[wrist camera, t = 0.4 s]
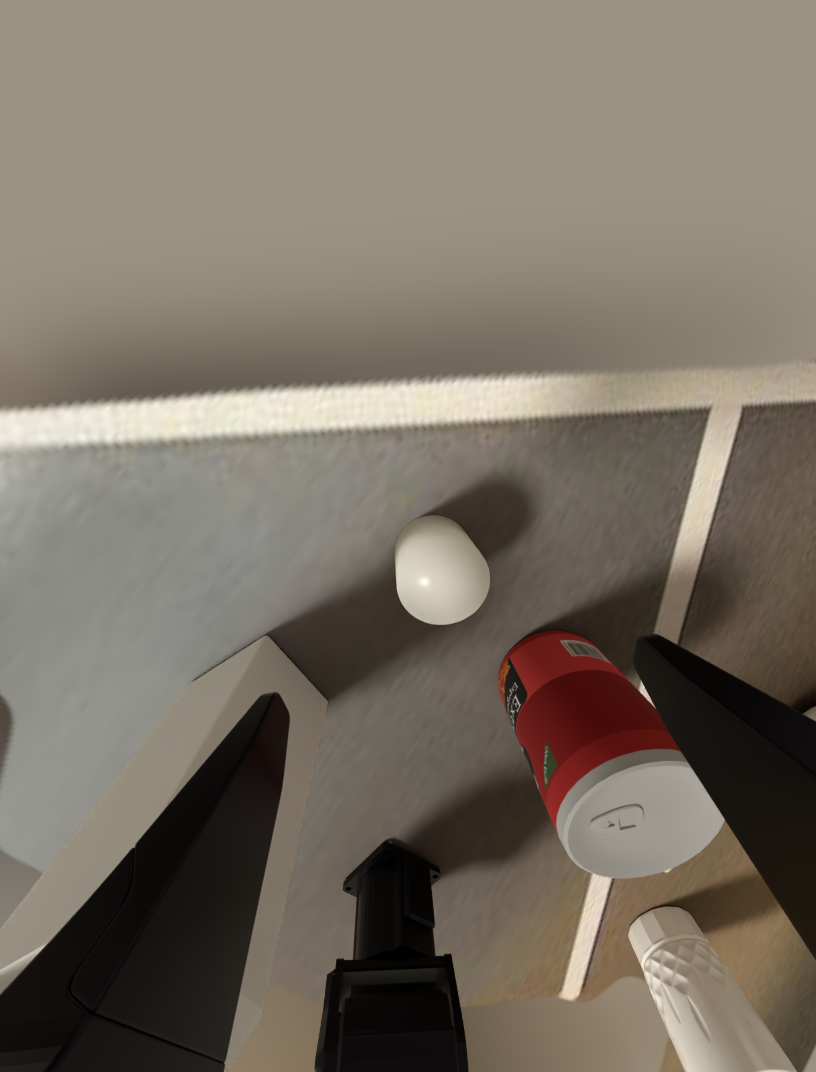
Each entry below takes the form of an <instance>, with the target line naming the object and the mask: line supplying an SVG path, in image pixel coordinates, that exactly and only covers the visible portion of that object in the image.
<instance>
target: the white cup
mask: <svg viewBox="0 0 816 1072" xmlns="http://www.w3.org/2000/svg"><path fill="white" fill-rule="evenodd" d="M628 937H629V939H630V942H631V944H632V946H633V948H634V951H635V953H636V955H637V957H638V960H639V962H640V964H641V967H642V969H643V971H644V975H645V979H646V981H647V983H648V986H649V988H650V990H651V993H652V996H653V998H654V1001H655V1003H656V1006H657V1008H658V1010H659V1012H660V1015H661V1017H662V1020H663V1022H664V1024H665V1026H666V1029H667V1031H668V1033H669V1036H670V1038H671V1040H672V1043H673V1045H674V1047H675V1049H676V1052H677V1054H678V1056H679V1059H680V1061H681V1063H682V1066H683V1068H684V1070H685V1072H797V1071H796V1070H795V1068H794V1067H793V1065H792V1064H791V1062H790V1061H789V1059H788V1058H787V1056H786V1055H785V1053H784V1052H783V1050H782V1049H781V1047H780V1046H779V1044H778V1043H777V1041H776V1040H775V1038H774V1037H773V1035H772V1033H771V1032H770V1030H769V1029H768V1027H767V1026H766V1024H765V1023H764V1021H763V1020H762V1018H761V1017H760V1015H759V1014H758V1012H757V1011H756V1009H755V1008H754V1006H753V1005H752V1003H751V1002H750V1000H749V999H748V997H747V996H746V994H745V993H744V991H743V990H742V989H741V987H740V986H739V984H738V983H737V981H736V980H735V978H734V977H733V975H732V974H731V973H730V971H729V970H728V968H727V967H726V965H725V964H724V962H723V961H722V959H721V958H720V956H719V955H718V953H717V952H716V951H715V950H714V949H713V948H712V947H711V946H710V944H709V942H708V940H707V939H706V937H705V936H704V934H703V933H702V931H701V930H700V928H699V927H698V925H697V924H696V922H695V921H694V919H693V917H692V916H691V915H690V913H689V912H687V911H685V910H683V909H682V908H680V907H671V906H670V907H668V906H665V907H660V908H656V909H652V910H650V911H648V912H646V913H644V914H642V915H641V916H639V917H638V918H637V919H636V920H635V921H634V922H633V923H632V924H631V926H630V929H629V934H628Z"/></svg>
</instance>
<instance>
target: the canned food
mask: <svg viewBox="0 0 816 1072" xmlns="http://www.w3.org/2000/svg"><path fill="white" fill-rule="evenodd" d="M499 693H500V697H501V699H502V702H503V704H504V707H505V709H506V712H507V714H508V716H509V719H510V721H511V724H512V726H513V729H514V731H515V734H516V736H517V738H518V741H519V743H520V746H521V748H522V751H523V753H524V755H525V758H526V760H527V763H528V765H529V768H530V770H531V772H532V775H533V777H534V780H535V782H536V785H537V787H538V789H539V792H540V794H541V797H542V799H543V802H544V804H545V807H546V809H547V811H548V814H549V816H550V818H551V820H552V822H553V825H554V827H555V829H556V832H557V834H558V837H559V839H560V840H561V842H562V844H563V845H564V847H565V850H566V851H567V853H568V855H569V857H570V858H571V859H572V860H573V861H574V862H575V863H576V864H577V865H578V866H579V867H581V868H583V869H584V870H586V871H588V872H590V873H593V874H596V875H599V876H603V877H610V878H636V877H644V876H649V875H653V874H657V873H660V872H663V871H666V870H668V869H671V868H674V867H676V866H678V865H680V864H681V863H683V862H685V861H687V860H689V859H690V858H692V857H693V856H695V855H696V854H697V853H699V852H700V851H701V850H702V849H703V848H705V847H706V846H707V845H708V844H709V843H710V842H711V841H712V840H713V839H714V837H715V836H716V835H717V833H718V832H719V831H720V829H721V827H722V825H723V823H724V822H725V819H724V818H723V816H722V815H721V813H720V811H719V810H718V808H717V807H716V805H715V804H714V802H713V801H712V799H711V798H710V796H709V794H708V793H707V791H706V790H705V788H704V787H703V785H702V784H701V782H700V781H699V779H698V777H697V776H696V774H695V773H694V771H693V770H692V768H691V767H690V765H689V763H688V762H687V760H686V759H685V757H684V756H683V754H682V753H681V751H680V750H679V748H678V746H677V745H676V743H675V742H674V740H673V739H672V737H671V735H670V734H669V732H668V730H667V729H666V727H665V725H664V723H663V721H662V719H661V718H660V716H659V714H658V712H657V710H656V709H655V708H654V706H653V705H652V704H651V703H650V702H649V701H648V700H647V699H646V698H645V697H644V696H643V695H642V694H641V693H640V692H639V691H638V690H637V689H636V688H635V687H634V686H633V685H632V683H631V682H630V681H629V680H628V679H627V678H626V677H625V676H624V675H623V674H622V673H621V672H620V671H619V670H618V669H617V668H616V667H615V666H614V665H613V664H612V663H611V661H610V660H609V659H608V658H607V657H606V656H605V655H604V654H603V653H602V652H601V651H600V650H599V649H598V648H597V647H596V646H595V645H594V644H592V643H591V642H590V641H588V640H586V639H584V638H582V637H580V636H578V635H576V634H574V633H570V632H566V631H556V630H554V631H544V632H541V633H537V634H534V635H532V636H529V637H527V638H525V639H524V640H522V641H521V642H519V643H518V644H516V645H515V646H514V647H513V648H512V649H511V650H510V651H509V652H508V654H507V655H506V656H505V658H504V660H503V662H502V664H501V666H500V670H499Z"/></svg>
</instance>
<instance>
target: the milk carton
mask: <svg viewBox="0 0 816 1072" xmlns="http://www.w3.org/2000/svg"><path fill="white" fill-rule="evenodd" d="M272 692H278V693H279V694H280V695H281V697H282V699H283V701H284V703H285V705H286V707H287V709H288V711H289V714H290V725H289V735H288V744H287V753H286V763H285V772H284V780H283V787H282V792H281V798H280V803H279V807H278V812H277V817H276V822H275V827H274V831H273V836H272V841H271V846H270V851H269V855H268V860H267V865H266V870H265V875H264V880H263V884H262V889H261V894H260V899H259V904H258V908H257V913H256V918H255V923H254V928H253V932H252V937H251V942H250V947H249V952H248V956H247V961H246V966H245V971H244V976H243V981H242V985H241V990H240V995H239V1000H238V1005H237V1009H236V1014H235V1019H234V1024H233V1029H232V1033H231V1038H230V1043H229V1048H228V1053H227V1058H226V1061H225V1062H224V1063H225V1068H224V1072H228V1070H229V1069H230V1067H231V1065H232V1064H233V1062H234V1060H235V1059H236V1057H237V1056H238V1054H239V1052H240V1051H241V1049H242V1048H243V1046H244V1044H245V1043H246V1041H247V1040H248V1038H249V1036H250V1035H251V1033H252V1032H253V1030H254V1028H255V1027H256V1025H257V1023H258V1022H259V1020H260V1019H261V1017H262V1015H263V1013H264V1005H265V1001H266V996H267V991H268V987H269V982H270V977H271V972H272V968H273V963H274V958H275V953H276V949H277V944H278V939H279V934H280V930H281V925H282V920H283V915H284V911H285V906H286V901H287V896H288V892H289V887H290V882H291V877H292V873H293V868H294V863H295V858H296V854H297V849H298V844H299V839H300V835H301V830H302V825H303V820H304V816H305V811H306V806H307V801H308V797H309V792H310V787H311V782H312V778H313V773H314V768H315V763H316V759H317V754H318V749H319V744H320V740H321V735H322V730H323V725H324V721H325V716H326V711H327V706H328V702H327V700H326V699H325V698H324V697H323V696H322V694H321V693H320V692H319V691H318V690H317V689H316V688H315V687H314V686H313V685H312V683H311V682H310V681H309V680H308V679H307V678H306V677H305V676H304V675H303V674H302V673H301V671H300V670H299V669H298V668H297V667H296V666H295V665H294V664H293V663H292V662H291V660H290V659H289V658H288V657H287V656H286V655H285V654H284V653H283V652H282V651H281V650H280V648H279V647H278V646H277V645H276V644H275V643H274V642H273V641H272V640H271V639H270V638H269V637H268V636H263V637H262V638H260V639H259V640H257V641H256V642H254V643H252V644H251V645H249V646H248V647H246V648H245V649H243V650H242V651H240V652H238V653H237V654H235V655H234V656H232V657H231V658H229V659H227V660H226V661H224V662H223V663H221V664H220V665H218V666H217V667H215V668H213V669H212V670H210V671H209V672H207V673H206V674H204V675H203V676H201V677H199V678H198V679H196V680H195V681H193V682H192V683H190V684H188V685H187V687H186V688H185V689H184V690H183V692H182V693H181V694H180V696H179V697H178V698H177V699H176V701H175V702H174V703H173V705H172V706H171V707H170V709H169V710H168V711H167V713H166V714H165V715H164V716H163V718H162V719H161V720H160V722H159V723H158V724H157V726H156V727H155V728H154V730H153V731H152V732H151V733H150V735H149V736H148V737H147V739H146V740H145V741H144V743H143V744H142V745H141V746H140V748H139V749H138V750H137V752H136V753H135V754H134V756H133V757H132V758H131V760H130V761H129V762H128V763H127V765H126V766H125V767H124V769H123V770H122V771H121V773H120V774H119V775H118V777H117V778H116V779H115V780H114V782H113V783H112V784H111V786H110V787H109V788H108V790H107V791H106V792H105V793H104V795H103V796H102V797H101V799H100V800H99V801H98V803H97V804H96V805H95V807H94V808H93V809H92V810H91V812H90V813H89V814H88V816H87V817H86V818H85V820H84V821H83V822H82V824H81V825H80V826H79V827H78V829H77V830H76V831H75V833H74V834H73V835H72V837H71V838H70V839H69V840H68V842H67V843H66V844H65V846H64V847H63V848H62V850H61V851H60V852H59V854H58V855H57V856H56V857H55V859H54V860H53V861H52V863H51V864H50V865H49V867H48V868H47V869H46V871H45V872H44V873H43V874H42V876H41V877H40V878H39V880H38V881H37V882H36V884H35V885H34V886H33V888H32V889H31V890H30V891H29V893H28V894H27V895H26V897H25V898H24V899H23V901H22V902H21V903H20V904H19V906H18V907H17V908H16V910H15V911H14V912H13V914H12V915H11V916H10V918H9V919H8V920H7V921H6V923H5V924H4V925H3V927H2V928H1V930H0V994H1V993H2V991H3V990H4V989H5V988H6V987H7V986H8V985H9V984H10V983H11V982H12V981H13V980H14V979H15V978H16V976H17V975H18V974H19V973H20V972H21V971H22V970H23V969H24V968H25V967H26V966H27V965H28V964H29V963H30V962H31V960H32V959H33V958H34V957H35V956H36V955H37V954H38V953H39V952H40V951H41V950H42V949H43V948H44V947H45V945H46V944H47V943H48V942H49V941H50V940H51V939H52V938H53V937H54V936H55V935H56V934H57V933H58V931H59V930H60V929H61V928H62V927H63V926H64V925H65V924H66V923H67V922H68V920H69V919H70V918H71V917H72V916H73V915H74V914H75V913H76V912H77V911H78V910H79V908H80V907H81V906H82V905H83V904H84V903H85V902H86V901H87V900H88V898H89V897H90V896H91V895H92V894H93V893H94V892H95V890H96V889H97V888H98V887H99V886H100V885H101V883H102V882H103V881H104V880H105V879H106V878H107V877H108V875H109V874H110V873H111V872H112V871H113V870H114V868H115V867H116V866H117V865H118V864H119V863H120V861H121V860H122V859H123V858H124V857H125V855H126V854H127V853H128V852H129V851H130V849H131V848H135V844H136V842H137V841H138V840H139V839H140V838H141V837H142V835H143V834H144V833H145V832H146V831H147V829H148V828H149V827H150V826H151V825H152V823H153V822H154V821H155V820H156V819H157V818H158V816H159V815H160V814H161V813H162V812H163V810H164V809H165V808H166V807H167V806H168V804H169V803H170V802H171V801H172V800H173V799H174V797H175V796H176V795H177V794H178V793H179V791H180V790H181V789H182V788H183V787H184V785H185V784H186V783H187V782H188V781H189V780H190V778H191V777H192V776H193V775H194V774H195V772H196V771H197V770H198V769H199V768H200V766H201V765H202V764H203V763H204V762H205V761H206V759H207V758H208V757H209V756H210V755H211V753H212V752H213V751H214V750H215V749H216V747H217V746H218V745H219V744H220V743H221V741H222V740H223V739H224V738H225V737H226V736H227V734H228V733H229V732H230V731H231V730H232V728H233V727H234V726H235V725H236V724H237V722H238V721H239V720H240V719H241V718H242V717H243V715H244V714H245V713H246V712H247V711H248V709H249V708H250V707H251V706H252V705H253V703H254V702H255V701H256V700H257V699H258V698H259V697H260V696H261V695H262V694H265V693H272Z"/></svg>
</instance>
